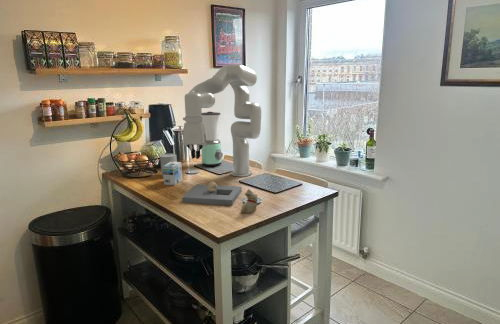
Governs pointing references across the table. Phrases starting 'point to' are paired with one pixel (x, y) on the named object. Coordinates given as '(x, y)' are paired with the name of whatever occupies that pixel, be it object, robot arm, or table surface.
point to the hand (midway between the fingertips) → (195, 158)
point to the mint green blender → (211, 139)
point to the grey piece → (167, 160)
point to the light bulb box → (172, 173)
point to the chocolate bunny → (249, 202)
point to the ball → (211, 186)
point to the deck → (212, 195)
